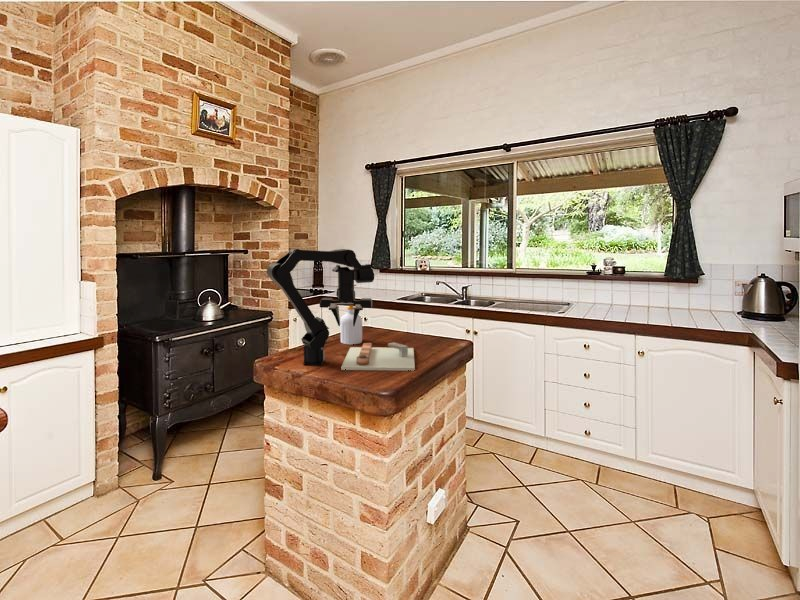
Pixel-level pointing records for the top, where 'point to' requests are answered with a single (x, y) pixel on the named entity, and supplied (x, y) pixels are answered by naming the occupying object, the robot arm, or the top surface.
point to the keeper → (400, 348)
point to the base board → (380, 360)
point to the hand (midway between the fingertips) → (346, 325)
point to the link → (364, 354)
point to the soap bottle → (350, 327)
